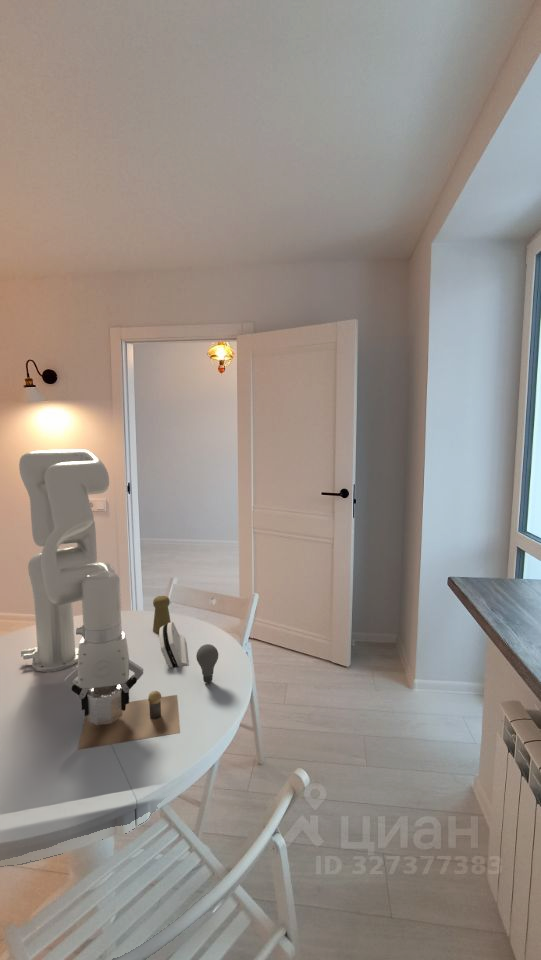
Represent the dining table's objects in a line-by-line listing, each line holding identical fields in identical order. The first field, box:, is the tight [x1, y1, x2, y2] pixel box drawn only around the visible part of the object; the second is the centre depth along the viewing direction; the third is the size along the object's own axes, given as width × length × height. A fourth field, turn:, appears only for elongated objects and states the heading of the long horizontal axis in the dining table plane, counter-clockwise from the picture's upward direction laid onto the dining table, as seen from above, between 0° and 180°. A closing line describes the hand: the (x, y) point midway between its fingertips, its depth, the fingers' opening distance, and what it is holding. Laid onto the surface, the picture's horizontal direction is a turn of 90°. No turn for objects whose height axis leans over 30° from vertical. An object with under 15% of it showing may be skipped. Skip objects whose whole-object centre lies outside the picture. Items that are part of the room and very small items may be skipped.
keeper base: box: [77, 690, 181, 751], centre depth 98 cm, size 20×14×7 cm
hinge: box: [158, 621, 190, 669], centre depth 128 cm, size 17×5×10 cm, turn 13°
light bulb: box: [196, 643, 219, 684], centre depth 115 cm, size 6×6×10 cm
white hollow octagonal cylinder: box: [87, 685, 123, 725], centre depth 97 cm, size 7×7×6 cm
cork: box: [152, 595, 172, 635], centre depth 146 cm, size 6×6×11 cm
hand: (106, 708), depth 97 cm, fingers closed on white hollow octagonal cylinder, 6 cm apart
